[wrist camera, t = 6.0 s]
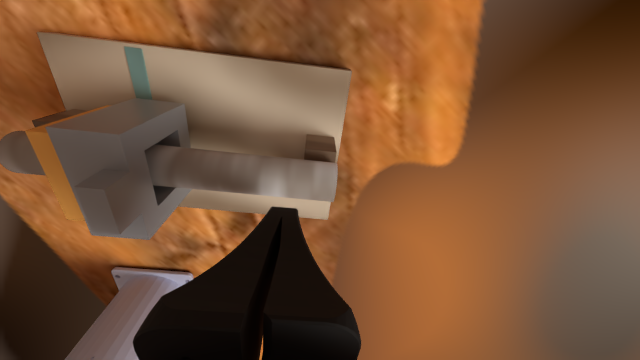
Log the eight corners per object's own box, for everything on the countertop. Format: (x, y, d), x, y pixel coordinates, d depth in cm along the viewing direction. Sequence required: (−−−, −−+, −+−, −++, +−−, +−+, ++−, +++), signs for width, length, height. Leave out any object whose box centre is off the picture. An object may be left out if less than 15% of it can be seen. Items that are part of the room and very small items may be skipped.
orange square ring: (149, 177, 18) (95, 221, 14) (127, 175, 18) (66, 219, 14) (132, 107, 16) (60, 134, 11) (107, 105, 16) (24, 130, 11)
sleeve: (196, 184, 19) (130, 262, 12) (155, 180, 19) (65, 257, 12) (184, 103, 16) (89, 148, 9) (135, 98, 16) (4, 140, 9)
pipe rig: (327, 212, 23) (330, 267, 17) (108, 193, 22) (37, 244, 16) (350, 69, 17) (365, 83, 11) (52, 32, 16) (-89, 28, 10)
